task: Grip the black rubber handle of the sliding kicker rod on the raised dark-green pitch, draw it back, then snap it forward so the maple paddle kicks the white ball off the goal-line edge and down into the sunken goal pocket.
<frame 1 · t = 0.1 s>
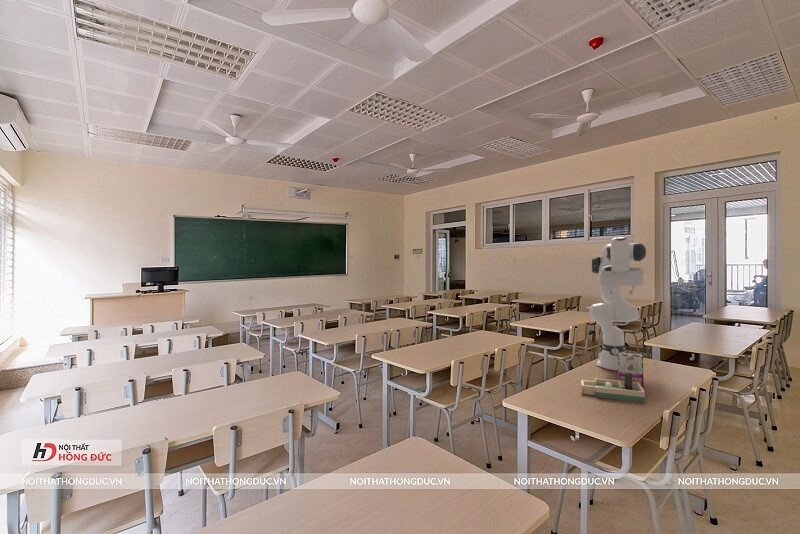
hand: (620, 293, 193), 48 cm above the table, fingers open, 8 cm apart
kicker rod: (625, 381, 178), point 7 cm above the table, slide at 2.0 cm
pitch: (610, 393, 180), on the table
ball: (608, 385, 181), point 4 cm above the table, touching pitch
candy bar box: (630, 385, 192), on the table
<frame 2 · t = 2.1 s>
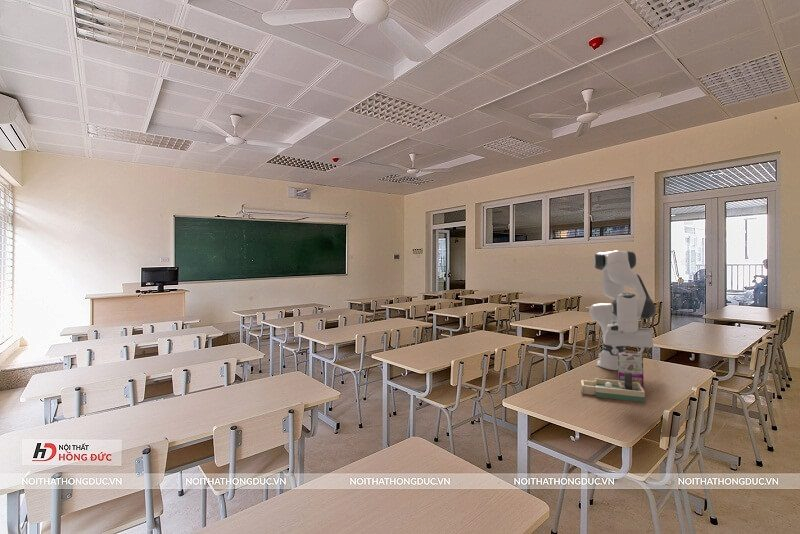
hand: (628, 355, 177), 20 cm above the table, fingers open, 8 cm apart
nothing on the table moved.
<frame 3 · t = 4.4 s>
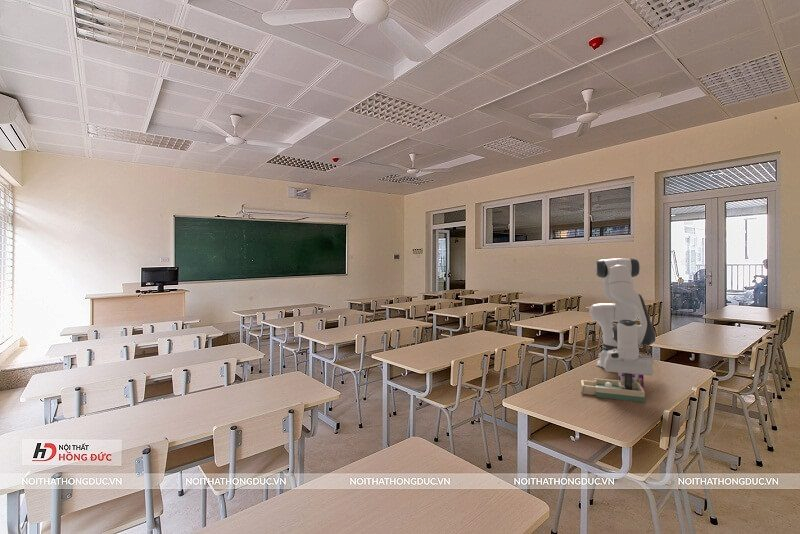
hand: (628, 382, 177), 7 cm above the table, fingers closed on kicker rod, 3 cm apart
kicker rod: (625, 381, 178), point 7 cm above the table, slide at 2.0 cm, touching gripper
everything else where it was.
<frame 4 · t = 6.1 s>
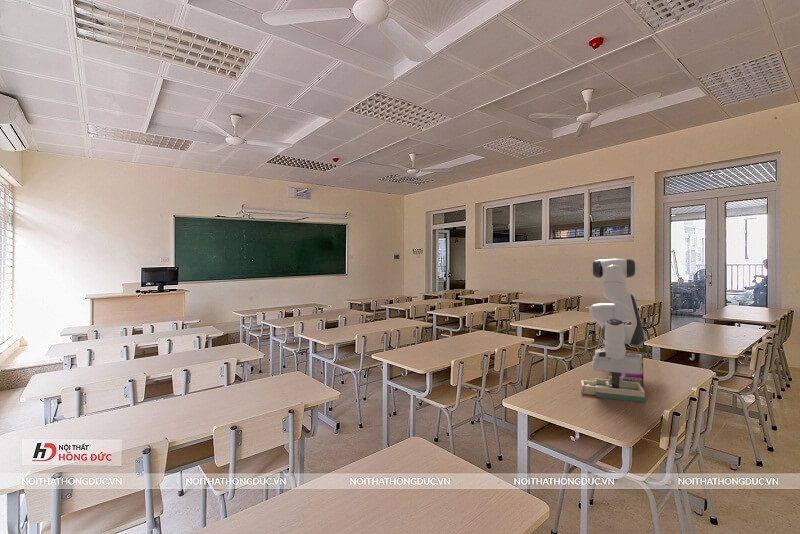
hand: (615, 380, 179), 7 cm above the table, fingers closed on kicker rod, 3 cm apart
kicker rod: (612, 380, 180), point 7 cm above the table, slide at 7.4 cm, touching gripper
ball: (588, 387, 184), point 2 cm above the table, tilted 29°, touching pitch
everything else where it was.
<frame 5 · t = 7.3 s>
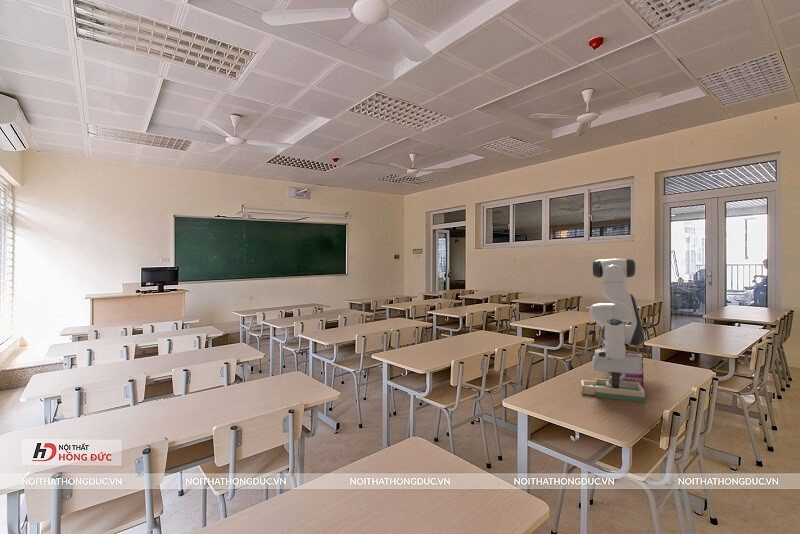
hand: (615, 380, 179), 7 cm above the table, fingers closed on kicker rod, 3 cm apart
kicker rod: (612, 380, 180), point 7 cm above the table, slide at 7.5 cm, touching gripper
ball: (591, 388, 184), point 2 cm above the table, tilted 72°, touching pitch
everything else where it was.
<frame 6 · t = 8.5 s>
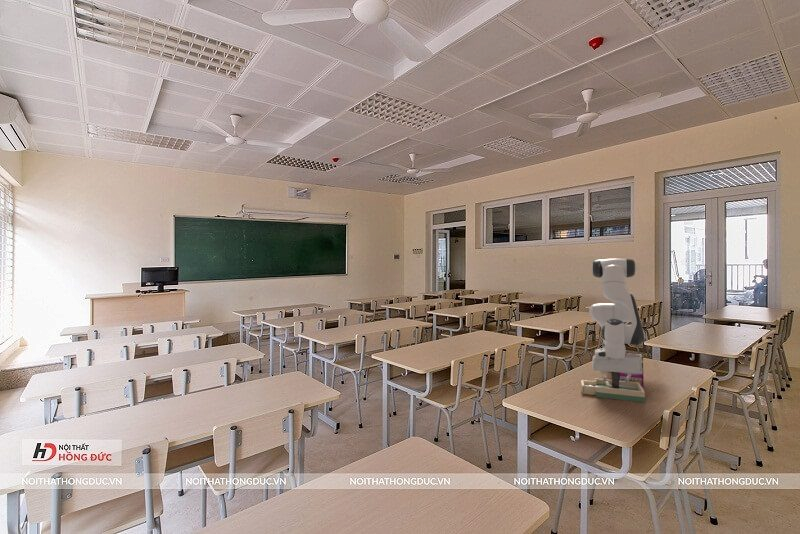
hand: (615, 380, 179), 7 cm above the table, fingers open, 8 cm apart
kicker rod: (612, 380, 180), point 7 cm above the table, slide at 7.5 cm
ball: (590, 388, 184), point 2 cm above the table, tilted 61°, touching pitch
everything else where it was.
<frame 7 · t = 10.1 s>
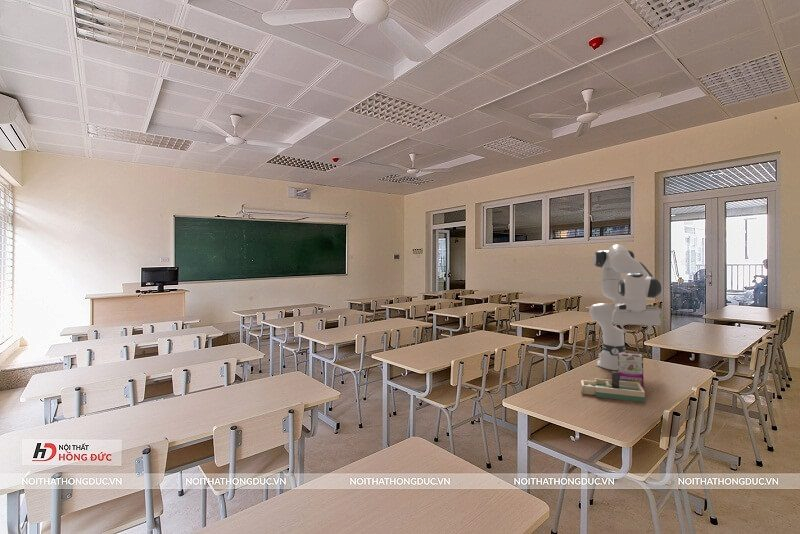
hand: (635, 333, 180), 29 cm above the table, fingers open, 8 cm apart
ball: (589, 388, 184), point 2 cm above the table, tilted 47°, touching pitch
everything else where it was.
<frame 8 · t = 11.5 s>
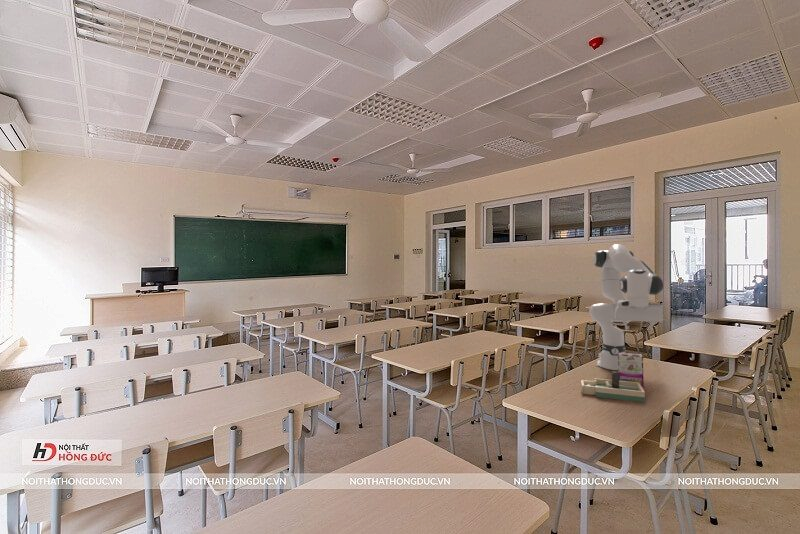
hand: (638, 330, 180), 31 cm above the table, fingers open, 8 cm apart
ball: (588, 387, 184), point 2 cm above the table, tilted 35°, touching pitch
everything else where it was.
at the end: ball 0.2 cm from the target spot on the pitch, point 1.7 cm above the pitch's base; kicker rod slide at 7.5 cm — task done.
